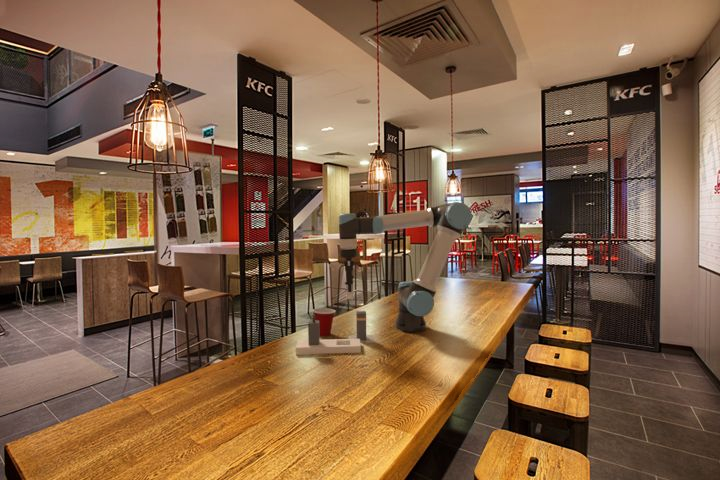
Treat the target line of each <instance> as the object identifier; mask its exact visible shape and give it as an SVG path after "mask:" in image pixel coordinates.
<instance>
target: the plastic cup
mask: <svg viewBox="0 0 720 480" xmlns="http://www.w3.org/2000/svg"><path fill="white" fill-rule="evenodd" d="M312 313H313V314H315V320H319V331H320V337H328V336H330V335H331V333H332V327H333V321H334V316H335V313H337V311H336V310H335V309H333V308H327V307H326V308H323V307H322V308H320V307H317V308H314V309H312Z"/></svg>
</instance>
